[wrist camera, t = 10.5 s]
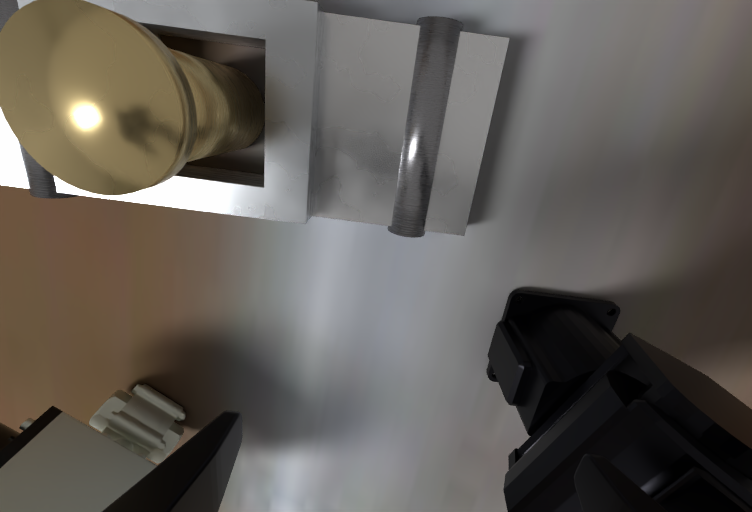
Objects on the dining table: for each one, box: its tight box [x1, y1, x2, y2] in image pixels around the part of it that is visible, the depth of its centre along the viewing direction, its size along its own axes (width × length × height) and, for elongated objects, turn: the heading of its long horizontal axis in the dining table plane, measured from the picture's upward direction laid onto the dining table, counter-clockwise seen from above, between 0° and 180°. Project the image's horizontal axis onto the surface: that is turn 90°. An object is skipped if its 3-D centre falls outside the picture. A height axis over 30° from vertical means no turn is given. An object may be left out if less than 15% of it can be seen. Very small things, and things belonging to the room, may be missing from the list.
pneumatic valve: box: [0, 384, 186, 512], centre depth 20 cm, size 6×12×12 cm, turn 48°
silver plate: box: [0, 0, 510, 237], centre depth 17 cm, size 23×10×3 cm, turn 83°
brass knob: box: [0, 0, 265, 196], centre depth 14 cm, size 5×5×9 cm
